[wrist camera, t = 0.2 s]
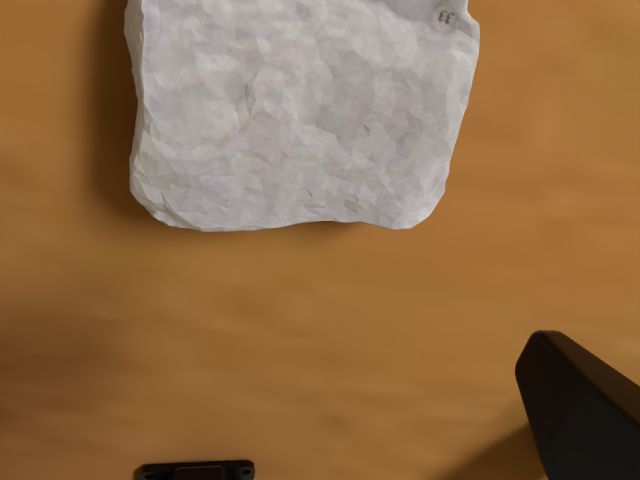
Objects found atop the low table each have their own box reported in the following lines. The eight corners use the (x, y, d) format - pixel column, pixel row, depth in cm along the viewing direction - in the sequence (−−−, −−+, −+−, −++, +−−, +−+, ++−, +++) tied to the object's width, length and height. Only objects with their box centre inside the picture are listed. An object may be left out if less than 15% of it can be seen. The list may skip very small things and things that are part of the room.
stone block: (118, -89, 19) (135, 199, 23) (103, -105, 15) (126, 251, 19) (452, -56, 22) (415, 196, 26) (520, -61, 18) (463, 241, 22)
